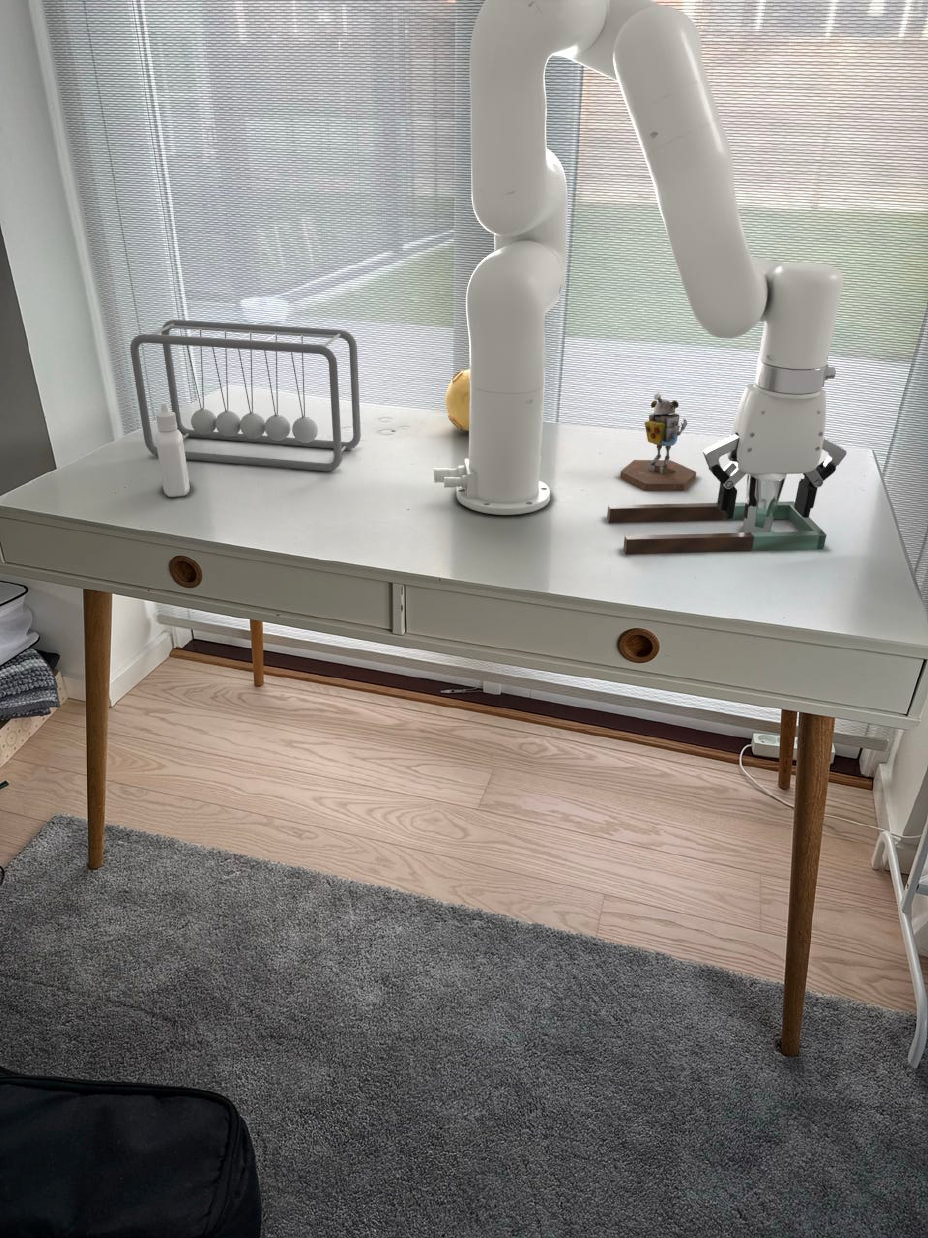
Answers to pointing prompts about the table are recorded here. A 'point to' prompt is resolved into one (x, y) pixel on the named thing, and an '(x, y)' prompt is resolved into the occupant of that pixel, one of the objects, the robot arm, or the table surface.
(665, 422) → the robot figurine
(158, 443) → the eye dropper bottle
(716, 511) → the slide track
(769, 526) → the milkshake
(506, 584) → the table surface
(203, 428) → the newton's cradle
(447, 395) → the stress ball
